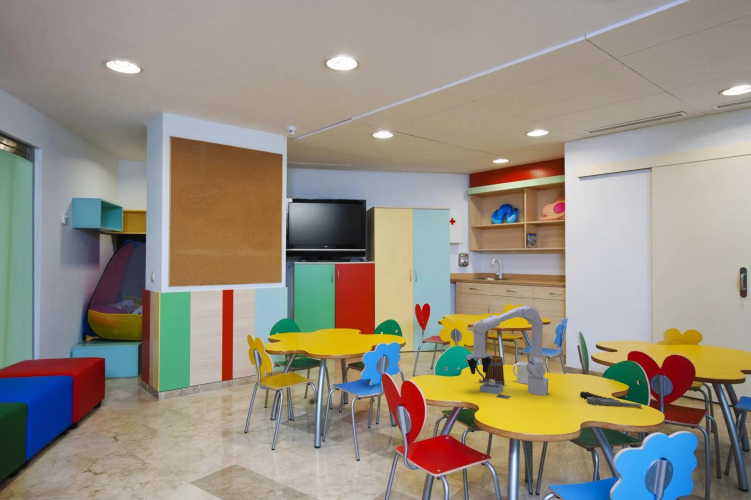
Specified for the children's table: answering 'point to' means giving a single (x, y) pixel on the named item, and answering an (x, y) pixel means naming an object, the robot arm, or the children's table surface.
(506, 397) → the grey metal square plate
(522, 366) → the mug
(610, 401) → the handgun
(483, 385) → the bin
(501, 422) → the children's table surface
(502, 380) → the mug
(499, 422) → the children's table surface
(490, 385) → the strut
